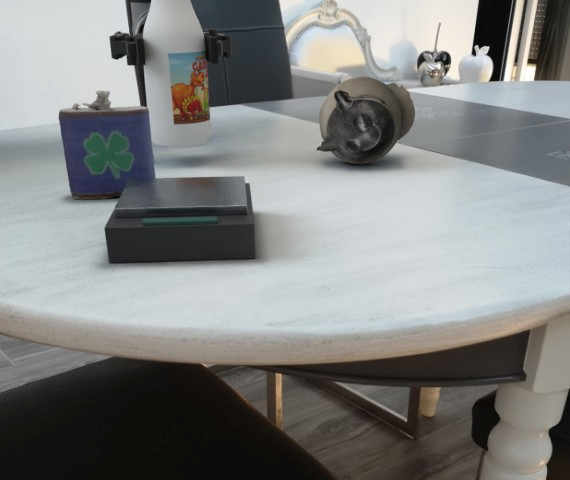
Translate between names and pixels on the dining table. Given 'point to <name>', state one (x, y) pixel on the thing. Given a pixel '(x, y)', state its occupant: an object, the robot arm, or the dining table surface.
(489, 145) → the dining table surface
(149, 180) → the scale platform
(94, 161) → the flask
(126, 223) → the scale
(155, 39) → the milk bottle
